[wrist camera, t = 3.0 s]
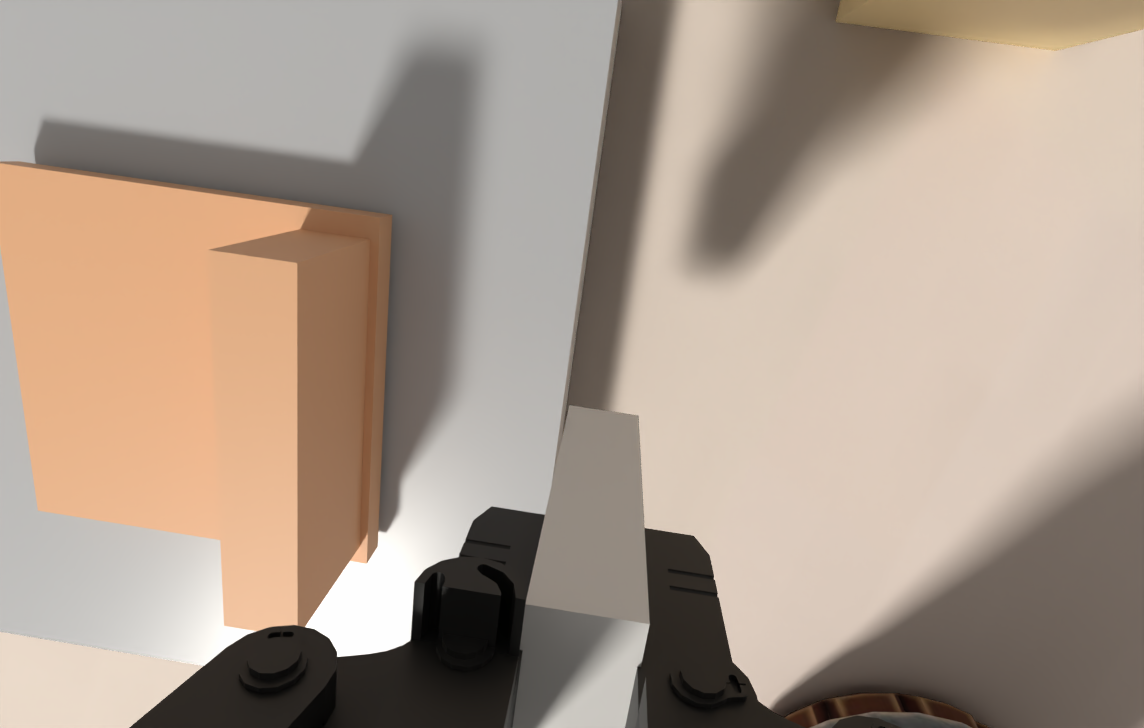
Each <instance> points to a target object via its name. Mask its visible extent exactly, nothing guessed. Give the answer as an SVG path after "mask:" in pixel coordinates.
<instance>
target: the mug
mask: <svg viewBox="0 0 1144 728" xmlns="http://www.w3.org/2000/svg"><path fill="white" fill-rule="evenodd" d="M856 715H858V716H865V717H872V718H879V719H881V720H884V721H886V722H889V723H891V724H894V725H896V726H898V727H901V728H990V727H988V726H985V725H983V724H980V723H978V722H975V721H974V719H973V717H972V715H970V714H968V713H966V712H964V711H961V710H959V709H957V708H955V707H952V706H950V705H948V704H945V703H941V702H937V701H934V700H930V699H926V698H922V697H917V696H911V695H904V694H897V693H856V694H851V695H845V696H840V697H835V698H829V699H824V700H821V701H819V702H816V703H814V704H812V705H809V706H807V707H804V708H802V709H799V710H797V711H795V712H792V713H790V714H789V715H787V716H786V717H784V718H786V719H787V720H789V721H792V722H794V723H796V724H799V725H801V726H803V727H806V728H832V727H833V726H834V725H835V724H836V723H837V722H838V721H839V720H840V719H844V718H848V717H852V716H856Z"/></svg>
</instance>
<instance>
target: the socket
mask: <svg viewBox="0 0 1144 728" xmlns="http://www.w3.org/2000/svg"><path fill="white" fill-rule="evenodd" d="M621 10H622V0H0V161H21V162H28V163H34V164H41V165H48V166H55V167H62V168H69V169H76V170H83V171H90V172H97V173H104V174H111V175H118V176H125V177H132V178H139V179H146V180H153V181H160V182H167V183H174V184H181V185H188V186H195V187H202V188H209V189H216V190H223V191H230V192H237V193H244V194H251V195H258V196H265V197H272V198H279V199H286V200H293V201H300V202H307V203H314V204H321V205H328V206H335V207H342V208H348V209H355V210H362V211H369V212H376V213H383V214H390V215H392V234H391V256H390V279H389V302H388V324H387V347H386V370H385V392H384V415H383V438H382V460H381V483H380V506H379V528H378V547H377V548H376V550H375V552H374V553H373V555H372V556H371V558H370V559H369V561H368V563H367V564H365V563H359V562H353V561H350V562H349V563H348V565H347V566H346V567H345V569H344V570H343V572H342V573H341V575H340V576H339V578H338V579H337V581H336V582H335V584H334V585H333V587H332V588H331V590H330V591H329V592H328V594H327V595H326V597H325V598H324V600H323V601H322V603H321V604H320V606H319V607H318V609H317V610H316V612H315V613H314V615H313V616H312V617H311V619H310V620H309V622H308V623H307V625H306V626H305V627H307V628H312V629H315V630H317V631H319V632H320V633H322V634H323V635H325V636H327V637H328V638H330V640H331V642H332V644H333V645H334V647H335V649H336V651H337V657H341V656H352V655H363V654H372V653H377V652H383V651H388V650H391V649H393V648H396V647H399V646H402V645H404V644H406V643H407V642H409V641H410V639H411V627H412V611H413V596H414V582H415V580H416V579H417V578H418V577H419V576H420V575H421V573H422V572H423V571H424V570H425V569H427V568H428V567H430V566H432V565H434V564H436V563H438V562H440V561H442V560H447V559H452V558H457V557H459V553H460V551H461V549H462V546H463V544H464V543H465V539H466V537H467V534H468V532H469V529H470V527H471V525H472V522H473V520H474V519H476V518H477V517H478V516H480V515H481V514H482V513H484V512H485V511H486V510H487V509H489V508H490V507H491V506H493V507H499V508H505V509H512V510H518V511H525V512H531V513H537V514H544V515H545V513H546V508H547V504H548V499H549V495H550V490H551V486H552V481H553V477H554V472H555V468H556V463H557V459H558V454H559V450H560V445H561V441H562V435H563V428H564V421H565V414H566V406H567V399H568V392H569V385H570V378H571V370H572V363H573V356H574V349H575V342H576V334H577V327H578V320H579V313H580V306H581V298H582V291H583V284H584V277H585V270H586V262H587V255H588V248H589V241H590V234H591V226H592V219H593V212H594V205H595V198H596V190H597V183H598V176H599V169H600V162H601V154H602V147H603V140H604V133H605V126H606V118H607V111H608V104H609V97H610V90H611V82H612V75H613V68H614V61H615V54H616V46H617V39H618V32H619V25H620V17H621ZM0 632H5V633H11V634H17V635H23V636H29V637H35V638H40V639H46V640H52V641H58V642H64V643H70V644H76V645H82V646H88V647H94V648H100V649H106V650H112V651H118V652H124V653H130V654H136V655H141V656H147V657H153V658H159V659H165V660H171V661H177V662H183V663H189V664H195V665H201V666H205V665H206V664H207V663H208V662H209V661H211V660H212V659H213V658H214V657H215V656H217V655H218V654H219V653H220V652H221V651H223V650H224V649H225V648H226V647H228V646H229V645H231V644H233V643H234V642H236V641H237V640H239V639H241V638H242V637H244V636H245V635H247V634H250V633H253V632H256V631H252V630H246V629H240V628H234V627H228V626H224V615H223V592H222V569H221V546H220V540H216V539H210V538H204V537H198V536H192V535H185V534H179V533H173V532H167V531H161V530H155V529H148V528H142V527H136V526H130V525H124V524H117V523H111V522H105V521H99V520H93V519H86V518H80V517H74V516H68V515H62V514H55V513H49V512H43V511H38V508H37V501H36V494H35V487H34V480H33V473H32V466H31V459H30V452H29V445H28V438H27V431H26V424H25V417H24V410H23V403H22V396H21V389H20V382H19V375H18V368H17V361H16V354H15V347H14V340H13V333H12V326H11V319H10V312H9V305H8V298H7V291H6V284H5V277H4V270H3V263H2V256H1V249H0Z"/></svg>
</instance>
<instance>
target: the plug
mask: <svg viewBox="0 0 1144 728" xmlns="http://www.w3.org/2000/svg"><path fill="white" fill-rule="evenodd" d="M836 22H839V23H847V24H855V25H862V26H870V27H878V28H885V29H893V30H901V31H908V32H916V33H924V34H931V35H939V36H947V37H955V38H962V39H970V40H978V41H985V42H993V43H1001V44H1008V45H1016V46H1024V47H1031V48H1039V49H1047V50H1054V51H1057V50H1061V49H1065V48H1069V47H1073V46H1077V45H1081V44H1085V43H1089V42H1093V41H1098V40H1102V39H1106V38H1110V37H1114V36H1118V35H1122V34H1126V33H1130V32H1134V31H1138V30H1142V29H1144V0H841V1H840V5H839V9H838V13H837V18H836Z"/></svg>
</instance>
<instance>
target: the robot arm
mask: <svg viewBox="0 0 1144 728" xmlns="http://www.w3.org/2000/svg"><path fill="white" fill-rule="evenodd" d="M130 728H806V727H803V726H801V725H799V724H796V723H794V722H792V721H789V720H787V719H786V718H784V717H782V716H780V715H778V714H776V713H774V712H772V711H771V710H769V709H768V708H767V707H765V706H764V705H763V704H761V703H760V702H759V701H758V700H757V696H756V693H755V691H754V689H753V687H752V685H751V683H750V681H749V679H748V677H747V676H746V675H745V674H744V673H743V672H742V671H741V670H740V669H739V668H738V667H737V666H736V665H735V664H734V663H732V658H731V654H730V649H729V644H728V640H727V635H726V630H725V626H724V621H723V616H722V612H721V607H720V602H719V598H718V597H717V588H716V584H715V580H714V574H713V570H712V565H711V560H710V556H709V554H708V553H707V552H706V551H705V549H704V548H703V547H702V546H701V544H700V543H699V542H698V541H697V539H696V538H695V537H694V536H691V535H684V534H678V533H672V532H665V531H659V530H653V529H646V528H644V510H643V491H642V473H641V454H640V436H639V417H638V416H637V415H631V414H624V413H618V412H611V411H604V410H598V409H591V408H585V407H578V406H571V405H569V409H568V414H567V418H566V423H565V427H564V432H563V436H562V441H561V445H560V450H559V454H558V459H557V463H556V468H555V472H554V477H553V481H552V486H551V490H550V495H549V499H548V504H547V508H546V513H545V515H544V514H537V513H531V512H525V511H518V510H512V509H505V508H499V507H493V506H491V507H490V508H489V509H487V510H486V511H485V512H484V513H482V514H481V515H480V516H478V517H477V518H476V519H474V520H473V522H472V525H471V527H470V529H469V532H468V534H467V537H466V539H465V543H464V544H463V546H462V549H461V551H460V553H459V557H457V558H452V559H447V560H442V561H440V562H438V563H436V564H434V565H432V566H430V567H428V568H427V569H425V570H424V571H423V572H422V573H421V575H420V576H419V577H418V578H417V579H416V580H415V582H414V596H413V611H412V627H411V639H410V641H409V642H407V643H406V644H404V645H402V646H399V647H396V648H393V649H391V650H388V651H383V652H377V653H372V654H363V655H352V656H341V657H337V651H336V649H335V647H334V645H333V644H332V642H331V640H330V638H328V637H327V636H325V635H323V634H322V633H320V632H319V631H317V630H315V629H312V628H307V627H302V626H297V625H287V626H274V627H268V628H265V629H262V630H259V631H256V632H253V633H250V634H247V635H245V636H244V637H242V638H241V639H239V640H237V641H236V642H234V643H233V644H231V645H229V646H228V647H226V648H225V649H224V650H223V651H221V652H220V653H219V654H218V655H217V656H215V657H214V658H213V659H212V660H211V661H209V662H208V663H207V664H206V665H205V666H203V667H202V668H201V669H200V670H198V671H197V672H196V673H195V674H194V675H192V676H191V677H190V678H189V679H188V680H186V681H185V682H184V683H183V684H182V685H180V686H179V687H178V688H177V689H176V690H174V691H173V692H172V693H171V694H170V695H168V696H167V697H166V698H165V699H163V700H162V701H161V702H160V703H159V704H157V705H156V706H155V707H154V708H153V709H151V710H150V711H149V712H148V713H147V714H145V715H144V716H143V717H142V718H141V719H139V720H138V721H137V722H136V723H135V724H133V725H132V726H131V727H130ZM832 728H901V727H898V726H896V725H894V724H891V723H889V722H886V721H884V720H881V719H879V718H872V717H865V716H858V715H856V716H852V717H848V718H844V719H840V720H839V721H838V722H837V723H836V724H835V725H834V726H833V727H832Z"/></svg>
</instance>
